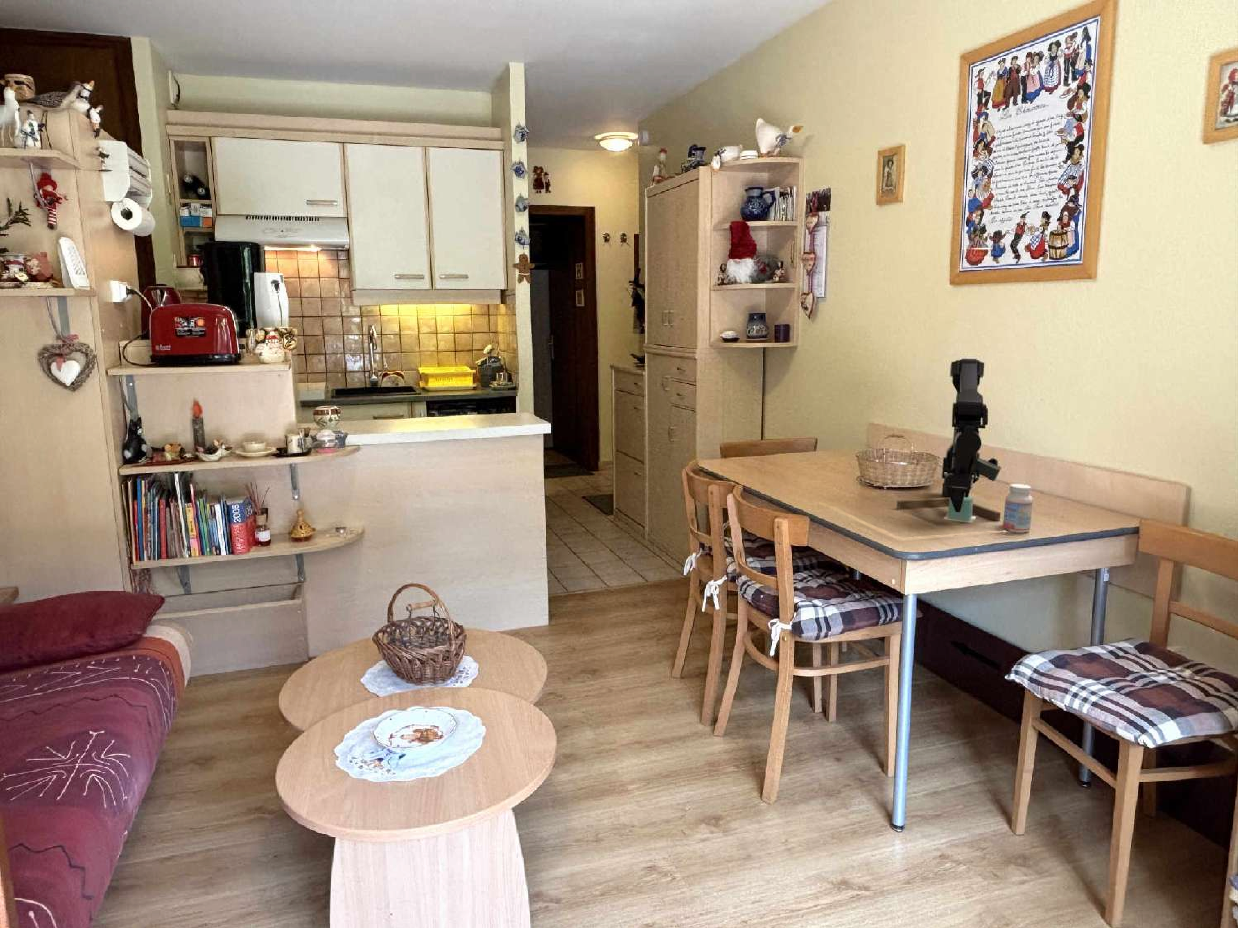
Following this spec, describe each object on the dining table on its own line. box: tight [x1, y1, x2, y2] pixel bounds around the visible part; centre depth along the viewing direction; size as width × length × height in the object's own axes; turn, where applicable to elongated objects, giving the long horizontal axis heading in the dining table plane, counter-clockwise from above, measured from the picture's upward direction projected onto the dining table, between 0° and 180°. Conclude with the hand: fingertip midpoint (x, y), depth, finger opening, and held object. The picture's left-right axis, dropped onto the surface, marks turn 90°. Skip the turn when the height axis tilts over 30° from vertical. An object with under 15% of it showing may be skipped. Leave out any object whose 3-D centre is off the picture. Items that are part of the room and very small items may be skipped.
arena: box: [896, 497, 1001, 526], centre depth 216 cm, size 18×18×3 cm
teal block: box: [948, 497, 974, 521], centre depth 212 cm, size 5×5×5 cm
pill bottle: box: [1002, 483, 1034, 534], centre depth 203 cm, size 6×6×11 cm
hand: (960, 508), depth 212 cm, fingers open, 9 cm apart
